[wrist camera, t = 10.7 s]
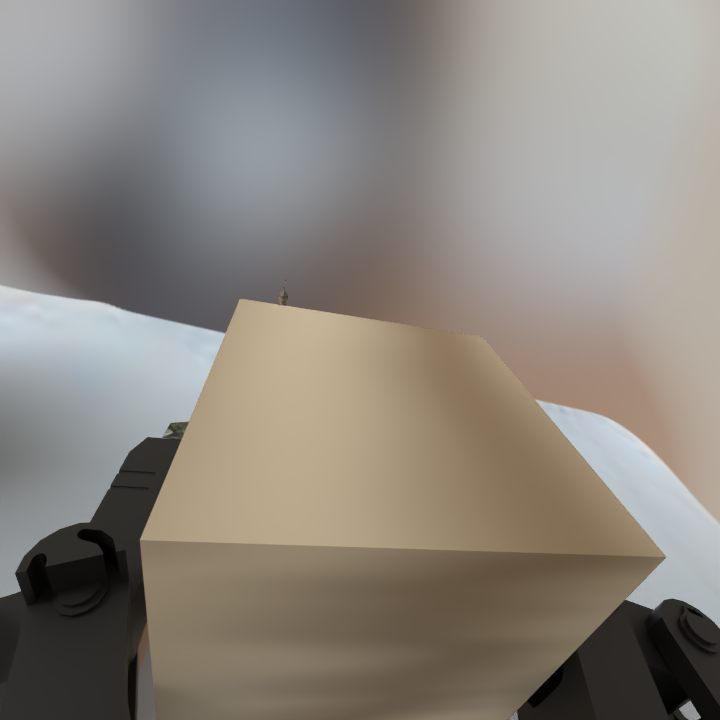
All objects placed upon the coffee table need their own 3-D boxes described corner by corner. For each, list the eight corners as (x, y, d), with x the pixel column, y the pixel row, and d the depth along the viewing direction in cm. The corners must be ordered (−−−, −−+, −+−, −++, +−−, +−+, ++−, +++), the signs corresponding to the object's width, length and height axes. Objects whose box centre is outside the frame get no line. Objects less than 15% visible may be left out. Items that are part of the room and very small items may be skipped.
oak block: (166, 831, 8) (139, 539, 4) (221, 564, 13) (240, 298, 9) (426, 803, 10) (666, 557, 5) (386, 568, 15) (481, 336, 10)
